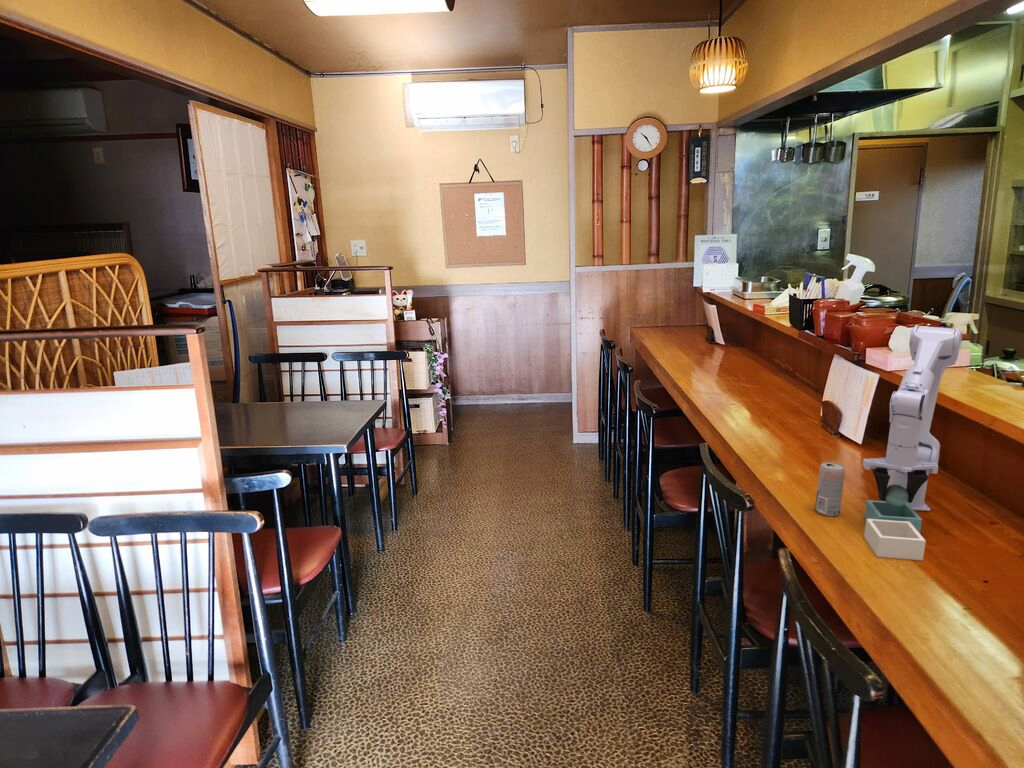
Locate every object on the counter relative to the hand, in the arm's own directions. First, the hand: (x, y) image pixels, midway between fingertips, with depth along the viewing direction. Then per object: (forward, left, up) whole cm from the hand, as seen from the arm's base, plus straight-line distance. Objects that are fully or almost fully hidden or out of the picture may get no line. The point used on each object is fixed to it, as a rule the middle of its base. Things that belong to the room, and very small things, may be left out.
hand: (894, 499), depth 141 cm
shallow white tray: (+10, -3, -7) cm, 13 cm away
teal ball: (0, 0, +1) cm, 1 cm away
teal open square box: (0, 0, -7) cm, 7 cm away
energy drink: (-6, -12, -7) cm, 15 cm away
